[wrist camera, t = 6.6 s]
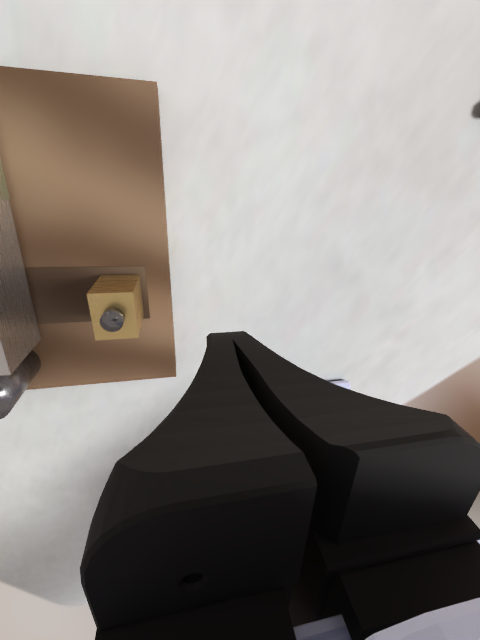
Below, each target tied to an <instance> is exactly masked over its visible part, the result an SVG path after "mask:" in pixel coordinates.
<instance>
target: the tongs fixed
mask: <svg viewBox="0 0 480 640" xmlns="http://www.w3.org/2000/svg"><path fill="white" fill-rule="evenodd" d="M40 367H41V361H40V358H39V356H38V355H37V354H36V353H35V352H34V351H33V350H31V352H30V353H29V354H28V355H27V356H26V357H25V359H24V360H23V361H22V362H21V363H20V365H19V366H18V367H17V368H16V369H15V371H14V372H13V373H12V374H11V375H2V376H0V419H2V418H4V417H5V416H6V415H8V413H9V412H10V411H11V409H12V408H13V407H14V405H15V404H16V402H17V401H18V400H19V398H20V397H21V395H22V394H23V393H24V391H25V390H26V388H27V387H28V386H29V384H30V383H31V381H32V380H33V378H34V377H35V376H36V374H37V373H38V371H39V370H40Z"/></svg>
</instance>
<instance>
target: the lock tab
mask: <svg viewBox="0 0 480 640" xmlns="http://www.w3.org/2000/svg"><path fill="white" fill-rule="evenodd" d="M87 299H88V304H89V309H90V315H91V320H92V325H93V330H94V336H95V341H97V340H113V339H129V338H139V334H140V329H141V325H142V320H143V316H144V311H143V302H142V292H141V283H140V274H135V275H101V276H100V277H99V278H98V280H97V281H96V282H95V283H94V285H93V286H92V287H91V289H90V290H89V291H88V292H87Z"/></svg>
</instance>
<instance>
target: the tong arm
mask: <svg viewBox="0 0 480 640" xmlns="http://www.w3.org/2000/svg"><path fill="white" fill-rule="evenodd" d="M9 199H10V198H9V193H8V189H7V184H6V180H5V176H4V171H3V167H2V162H1V158H0V376H2V375H11V374H12V373H13V372H14V371H15V369H16V368H17V367H18V366H19V365H20V363H21V362H22V361H23V360H24V359H25V357H26V356H27V355H28V354H29V353H30V352H31V350H32V349H33V348H34V347H35V346H36V344H37V343H38V342H39V341H40V340H41V339H40V334H39V330H38V326H37V321H36V317H35V312H34V308H33V304H32V299H31V295H30V290H29V286H28V282H27V277H26V273H25V269H24V264H23V260H22V255H21V251H20V247H19V242H18V238H17V234H16V229H15V225H14V220H13V216H12V212H11V207H10V203H9Z"/></svg>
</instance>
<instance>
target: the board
mask: <svg viewBox="0 0 480 640" xmlns="http://www.w3.org/2000/svg"><path fill="white" fill-rule="evenodd" d="M0 158H1V162H2V167H3V171H4V176H5V180H6V184H7V189H8V193H9V198H10V199H9V203H10V207H11V212H12V216H13V220H14V225H15V229H16V234H17V238H18V242H19V247H20V251H21V255H22V260H23V264H24V269H25V273H26V277H27V282H28V286H29V290H30V295H31V299H32V304H33V308H34V312H35V317H36V321H37V326H38V330H39V334H40V339H41V340H40V341H39V342H38V343H37V344H36V346H35V347H34V348H33V349H32V350H33V351H34V352H35V353H36V354H37V355H38V356H39V358H40V361H41V367H40V370H39V371H38V373H37V374H36V376H35V377H34V378H33V380H32V381H31V383H30V384H29V386H28V387H27V388H26V390H28V389H40V388H51V387H62V386H74V385H85V384H96V383H108V382H119V381H130V380H142V379H153V378H164V377H176V359H175V344H174V329H173V314H172V298H171V283H170V268H169V253H168V237H167V222H166V207H165V192H164V177H163V161H162V146H161V131H160V116H159V100H158V88H157V82H153V81H143V80H133V79H123V78H113V77H103V76H93V75H84V74H74V73H64V72H54V71H44V70H34V69H24V68H14V67H5V66H0ZM135 274H140V283H141V292H142V302H143V311H144V316H143V320H142V325H141V329H140V334H139V338H129V339H113V340H97V341H95V336H94V330H93V325H92V320H91V315H90V309H89V304H88V299H87V292H88V291H89V290H90V289H91V287H92V286H93V285H94V283H95V282H96V281H97V280H98V278H99V277H100V276H101V275H135Z"/></svg>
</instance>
